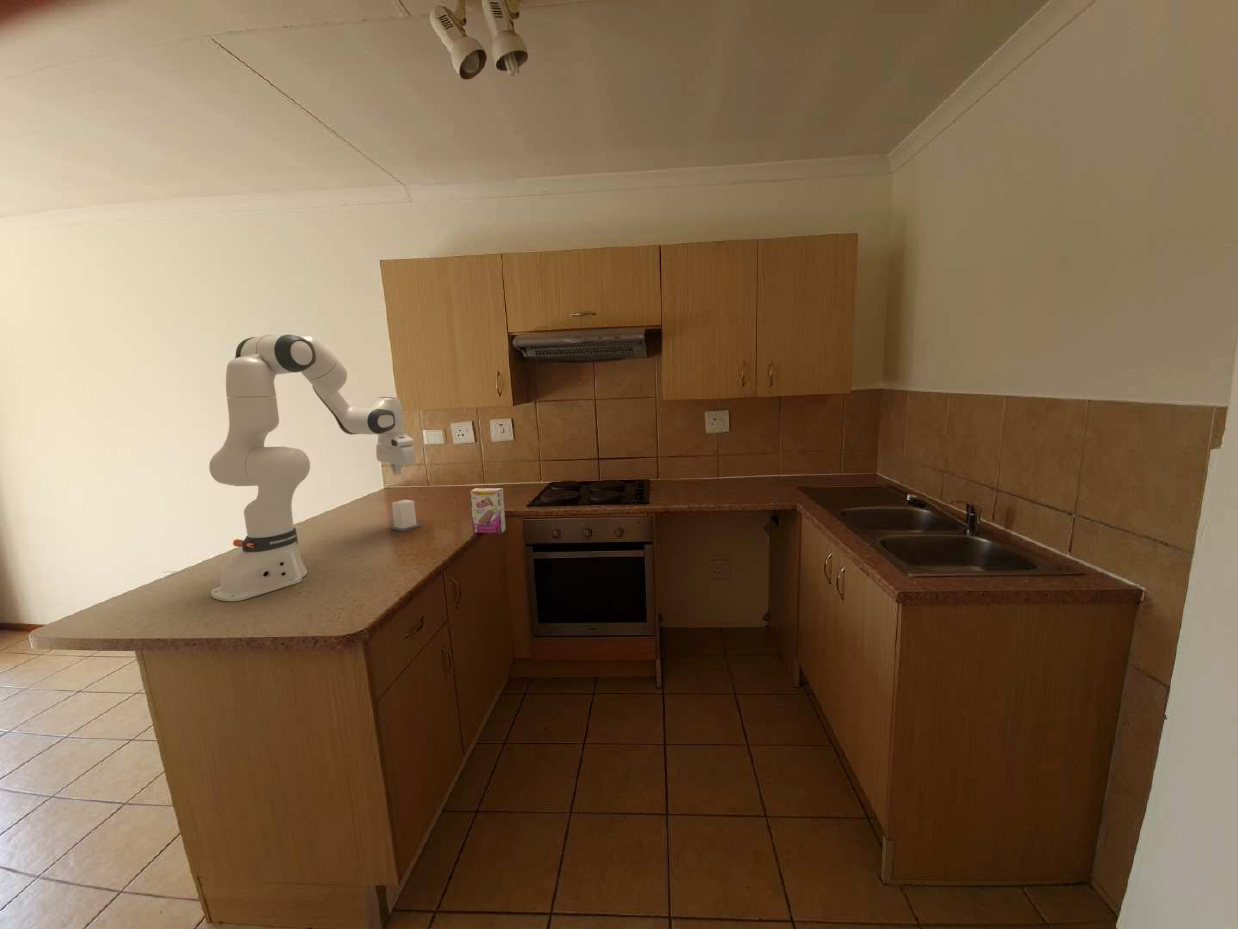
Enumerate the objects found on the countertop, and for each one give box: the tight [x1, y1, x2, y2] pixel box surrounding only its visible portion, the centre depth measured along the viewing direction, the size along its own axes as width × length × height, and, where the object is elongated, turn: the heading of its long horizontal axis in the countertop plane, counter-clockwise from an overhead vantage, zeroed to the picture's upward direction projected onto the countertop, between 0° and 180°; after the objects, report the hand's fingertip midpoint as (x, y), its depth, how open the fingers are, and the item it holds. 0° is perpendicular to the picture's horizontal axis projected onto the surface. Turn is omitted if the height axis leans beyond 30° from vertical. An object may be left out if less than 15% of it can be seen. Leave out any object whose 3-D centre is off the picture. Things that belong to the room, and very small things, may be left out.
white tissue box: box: [391, 499, 418, 529], centre depth 189 cm, size 6×6×10 cm
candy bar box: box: [469, 487, 507, 535], centre depth 180 cm, size 11×5×16 cm, turn 84°
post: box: [389, 523, 422, 533], centre depth 190 cm, size 8×8×8 cm
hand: (397, 474), depth 187 cm, fingers closed
